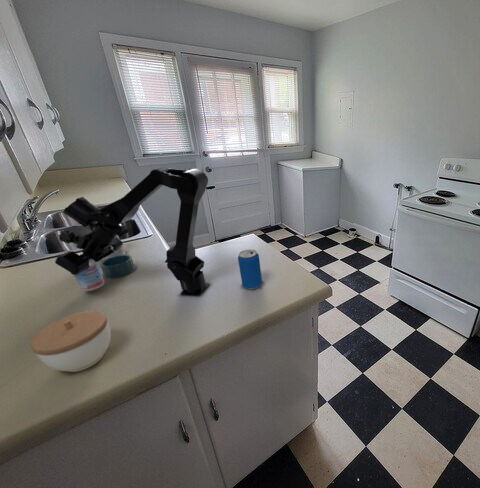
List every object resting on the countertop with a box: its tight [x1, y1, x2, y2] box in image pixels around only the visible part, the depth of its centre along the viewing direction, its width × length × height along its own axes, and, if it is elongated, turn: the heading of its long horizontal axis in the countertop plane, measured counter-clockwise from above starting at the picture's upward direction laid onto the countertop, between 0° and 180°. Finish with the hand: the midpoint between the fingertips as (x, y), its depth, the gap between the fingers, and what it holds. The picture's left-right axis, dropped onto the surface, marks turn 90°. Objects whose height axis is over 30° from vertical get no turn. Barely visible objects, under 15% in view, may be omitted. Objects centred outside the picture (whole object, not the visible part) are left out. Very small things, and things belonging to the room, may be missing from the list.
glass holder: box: [88, 224, 127, 262], centre depth 108 cm, size 9×14×15 cm, turn 42°
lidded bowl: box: [29, 310, 112, 373], centre depth 61 cm, size 13×13×11 cm
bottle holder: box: [99, 254, 136, 279], centre depth 100 cm, size 9×9×4 cm
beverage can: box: [237, 248, 263, 290], centre depth 88 cm, size 6×6×12 cm
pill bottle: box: [74, 252, 105, 292], centre depth 85 cm, size 6×6×11 cm
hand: (81, 268), depth 85 cm, fingers closed on pill bottle, 6 cm apart
